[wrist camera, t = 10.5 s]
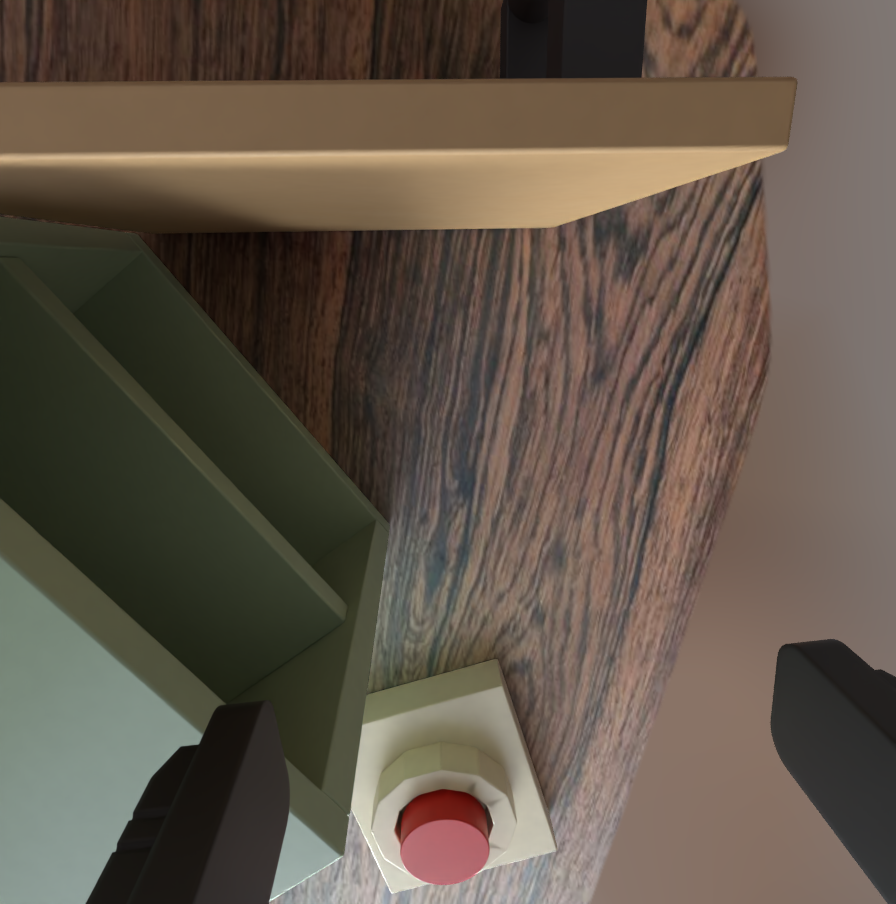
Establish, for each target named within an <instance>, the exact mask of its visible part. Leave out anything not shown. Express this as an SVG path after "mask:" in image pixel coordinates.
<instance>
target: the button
mask: <svg viewBox="0 0 896 904" xmlns="http://www.w3.org/2000/svg"><path fill="white" fill-rule="evenodd" d="M489 852H490V847H489V838H488V829H487V820H486V813H485V810H484V808H483V806H482V805H481V803H480V802H479V801H478V800H477V799H476V798H475V797H473V796H472V795H470V794H468V793H466V792H462V791H455V790H448V789H439V790H436V791H432V792H428V793H425V794H421V795H419V796H417V797H416V798H415V799H413V800H412V801H411V802H410V803H409V804H408V806H407V807H406V809H405V811H404V813H403V816H402V823H401V845H400V856H401V860H402V863H403V865H404V867H405V868H406V870H407V871H408V872H409V873H410V874H411V875H412V876H414V877H415V878H417V879H419V880H421V881H423V882H426V883H430V884H435V885H450V884H456V883H460V882H463V881H465V880H468V879H470V878H471V877H473V876H475V875H476V874H477V873H478V872H479V871H481V869H482V868H483V867H484V866H485V864H486V862H487V860H488V857H489Z"/></svg>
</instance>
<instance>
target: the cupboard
mask: <svg viewBox="0 0 896 904" xmlns="http://www.w3.org/2000/svg"><path fill="white" fill-rule="evenodd" d="M389 528H390V525H389V523H388V522H387V521H386V520H385V519H384V517H383V516H382V515H381V514H380V513H379V512H378V511H377V509H376V508H375V507H374V506H373V505H372V504H371V502H370V501H369V500H368V499H367V498H366V497H365V496H364V494H363V493H362V492H361V491H360V490H359V489H358V488H357V486H356V485H355V484H354V483H353V482H352V481H351V479H350V478H349V477H348V476H347V475H346V474H345V473H344V471H343V470H342V469H341V468H340V467H339V466H338V464H337V463H336V462H335V461H334V460H333V459H332V458H331V456H330V455H329V454H328V453H327V452H326V451H325V450H324V448H323V447H322V446H321V445H320V444H319V443H318V441H317V440H316V439H315V438H314V437H313V436H312V435H311V433H310V432H309V431H308V430H307V429H306V428H305V427H304V425H303V424H302V423H301V422H300V421H299V420H298V418H297V417H296V416H295V415H294V414H293V413H292V412H291V410H290V409H289V408H288V407H287V406H286V405H285V403H284V402H283V401H282V400H281V399H280V398H279V397H278V395H277V394H276V393H275V392H274V391H273V390H272V389H271V387H270V386H269V385H268V384H267V383H266V382H265V380H264V379H263V378H262V377H261V376H260V375H259V374H258V372H257V371H256V370H255V369H254V368H253V367H252V366H251V364H250V363H249V362H248V361H247V360H246V359H245V357H244V356H243V355H242V354H241V353H240V352H239V351H238V349H237V348H236V347H235V346H234V345H233V344H232V342H231V341H230V340H229V339H228V338H227V337H226V336H225V334H224V333H223V332H222V331H221V330H220V329H219V328H218V326H217V325H216V324H215V323H214V322H213V321H212V319H211V318H210V317H209V316H208V315H207V314H206V313H205V311H204V310H203V309H202V308H201V307H200V306H199V304H198V303H197V302H196V301H195V300H194V299H193V298H192V296H191V295H190V294H189V293H188V292H187V291H186V290H185V288H184V287H183V286H182V285H181V284H180V283H179V281H178V280H177V279H176V278H175V277H174V276H173V275H172V273H171V272H170V271H169V270H168V269H167V268H166V267H165V265H164V264H163V263H162V262H161V261H160V260H159V258H158V257H157V256H156V255H155V254H154V253H153V252H152V250H151V249H150V248H149V247H148V246H147V245H146V243H145V242H144V241H143V240H142V239H141V238H140V237H139V235H138V234H135V233H127V232H126V233H125V232H120V231H112V230H104V229H96V228H88V227H80V226H72V225H64V224H56V223H48V222H40V221H32V220H24V219H16V218H8V217H0V904H86V902H87V900H88V898H89V896H90V894H91V892H92V890H93V889H94V887H95V885H96V883H97V881H98V879H99V877H100V875H101V873H102V871H103V869H104V867H105V865H106V863H107V862H108V860H109V858H110V856H111V854H112V852H115V851H116V849H117V842H118V840H119V838H120V836H121V835H122V833H123V831H124V829H125V827H126V825H127V823H128V821H129V820H132V818H133V811H134V809H135V808H136V806H137V804H138V802H139V800H140V798H141V796H142V794H143V792H144V790H145V788H146V786H147V784H148V783H149V781H150V779H151V777H152V776H153V775H154V774H155V773H156V772H157V771H158V770H159V769H160V768H161V767H162V765H163V764H164V763H165V762H166V761H167V760H168V759H169V758H170V757H171V756H172V755H173V754H174V753H175V752H176V751H177V750H178V749H179V748H180V746H189V745H198V744H199V743H200V741H201V738H202V736H203V734H204V732H205V730H206V727H207V725H208V723H209V721H210V719H211V716H212V714H213V712H214V710H215V709H216V708H217V707H218V706H220V705H226V704H235V703H244V702H253V701H262V700H269V701H270V702H271V703H272V705H273V708H274V711H275V716H276V720H277V725H278V729H279V734H280V739H281V743H282V748H283V752H284V757H285V761H286V766H287V770H288V775H289V783H290V807H289V816H288V822H287V827H286V831H285V836H284V840H283V844H282V849H281V853H280V857H279V862H278V866H277V870H276V875H275V879H274V883H273V888H272V892H271V897H270V901H271V900H273V899H275V898H276V897H278V896H280V895H281V894H283V893H284V892H286V891H288V890H289V889H291V888H293V887H294V886H296V885H297V884H299V883H301V882H302V881H304V880H306V879H307V878H309V877H310V876H312V875H314V874H315V873H317V872H319V871H320V870H322V869H323V868H325V867H327V866H328V865H330V864H332V863H333V862H335V861H336V860H338V859H340V858H341V857H342V856H343V855H344V851H345V843H346V836H347V829H348V822H349V816H348V815H349V814H350V810H351V802H352V795H353V788H354V781H355V774H356V767H357V759H358V752H359V745H360V738H361V731H362V724H363V716H364V709H365V702H366V695H367V688H368V680H369V673H370V666H371V659H372V652H373V645H374V637H375V630H376V623H377V616H378V609H379V602H380V594H381V587H382V580H383V573H384V566H385V559H386V551H387V544H388V537H389ZM270 901H269V902H270Z"/></svg>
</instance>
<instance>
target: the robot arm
mask: <svg viewBox="0 0 896 904" xmlns="http://www.w3.org/2000/svg"><path fill="white" fill-rule="evenodd" d="M771 733H772V737H773V741H774V744H775V747H776V750H777V752H778V754H779V756H780V759H781V760H782V762H783V764H784V765H785V767H786V768H787V770H788V771H789V772H790V774H791V775H792V776H793V778H794V779H795V780H796V781H797V783H798V784H799V786H800V787H801V788H802V790H803V791H804V792H805V794H806V795H807V796H808V798H809V799H810V801H811V802H812V803H813V805H814V806H815V807H816V808H817V810H818V811H819V813H820V814H821V815H822V817H823V818H824V819H825V821H826V822H827V823H828V825H829V826H830V827H831V829H832V830H833V831H834V833H835V834H836V835H837V837H838V838H839V839H840V840H841V842H842V843H843V845H844V846H845V847H846V849H847V850H848V851H849V853H850V854H851V855H852V857H853V858H854V859H855V861H856V862H857V863H858V865H859V866H860V867H861V869H862V870H863V871H864V873H865V874H866V875H867V877H868V878H869V879H870V881H871V882H872V883H873V885H874V886H875V887H876V889H877V890H878V891H879V893H880V894H881V895H882V897H883V898H884V899H885V901H886V902H887V903H888V904H896V677H895V676H893V675H891V674H889V673H887V672H885V671H883V670H874V669H873V668H872V667H870V666H869V665H868V664H867V663H866V662H865V661H863V660H862V659H861V658H860V657H859V656H857V654H855V653H854V652H853V651H852V650H851V649H850V648H848V647H847V646H846V645H845V644H843V643H842V642H840V641H838V640H835V639H827V640H819V641H809V642H801V643H791V644H785V645H783V646H782V647H781V648H780V650H779V652H778V657H777V665H776V675H775V684H774V695H773V704H772V713H771ZM289 807H290V783H289V775H288V770H287V766H286V761H285V757H284V752H283V748H282V743H281V739H280V734H279V729H278V725H277V720H276V716H275V711H274V708H273V705H272V703H271V702H270V701H269V700H262V701H253V702H244V703H235V704H226V705H220V706H218V707H217V708H216V709H215V710H214V712H213V714H212V716H211V719H210V721H209V723H208V725H207V727H206V730H205V732H204V734H203V736H202V738H201V741H200V743H199V744H198V745H189V746H180V748H179V749H178V750H177V751H176V752H175V753H174V754H173V755H172V756H171V757H170V758H169V759H168V760H167V761H166V762H165V763H164V764H163V765H162V767H161V768H160V769H159V770H158V771H157V772H156V773H155V774H154V775H153V776H152V777H151V779H150V781H149V783H148V784H147V786H146V788H145V790H144V792H143V794H142V796H141V798H140V800H139V802H138V804H137V806H136V808H135V809H134V811H133V818H132V820H129V821H128V823H127V825H126V827H125V829H124V831H123V833H122V835H121V836H120V838H119V840H118V842H117V849H116V851H115V852H112V854H111V856H110V858H109V860H108V862H107V863H106V865H105V867H104V869H103V871H102V873H101V875H100V877H99V879H98V881H97V883H96V885H95V887H94V889H93V890H92V892H91V894H90V896H89V898H88V900H87V902H86V904H269V901H270V897H271V892H272V888H273V883H274V879H275V875H276V870H277V866H278V862H279V857H280V853H281V849H282V844H283V840H284V836H285V831H286V827H287V822H288V816H289Z"/></svg>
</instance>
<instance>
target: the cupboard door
mask: <svg viewBox="0 0 896 904" xmlns="http://www.w3.org/2000/svg"><path fill="white" fill-rule="evenodd" d="M646 9H647V0H503V3H502V7H501V34H500V79H388V80H243V81H97V82H0V214H6V215H14V216H21V217H29V218H37V219H44V220H52V221H60V222H67V223H75V224H82V225H90V226H98V227H105V228H113V229H121V230H128V231H136V232H143V233H151V234H157V233H225V232H293V231H361V230H428V229H496V228H553V227H556V226H559V225H562V224H565V223H568V222H571V221H574V220H577V219H580V218H583V217H586V216H589V215H592V214H595V213H598V212H601V211H604V210H607V209H611V208H614V207H617V206H620V205H623V204H626V203H629V202H632V201H635V200H638V199H641V198H644V197H647V196H650V195H653V194H656V193H659V192H662V191H665V190H668V189H671V188H674V187H677V186H680V185H683V184H686V183H689V182H692V181H695V180H698V179H701V178H704V177H707V176H710V175H713V174H716V173H719V172H722V171H725V170H729V169H732V168H735V167H738V166H741V165H744V164H747V163H750V162H753V161H756V160H759V159H762V158H765V157H768V156H771V155H774V154H777V153H780V152H782V151H784V150H786V149H787V146H788V142H789V137H790V130H791V123H792V116H793V109H794V101H795V96H796V89H797V79H796V78H794V77H679V78H641V76H642V63H643V49H644V36H645V22H646Z"/></svg>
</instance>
